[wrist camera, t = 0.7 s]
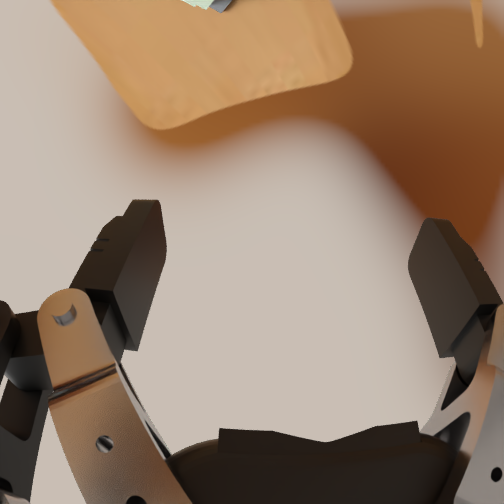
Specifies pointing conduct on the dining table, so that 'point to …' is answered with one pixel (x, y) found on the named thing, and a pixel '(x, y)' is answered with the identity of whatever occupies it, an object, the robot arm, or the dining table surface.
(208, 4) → the grey green docking tray
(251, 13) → the dining table surface
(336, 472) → the robot arm
